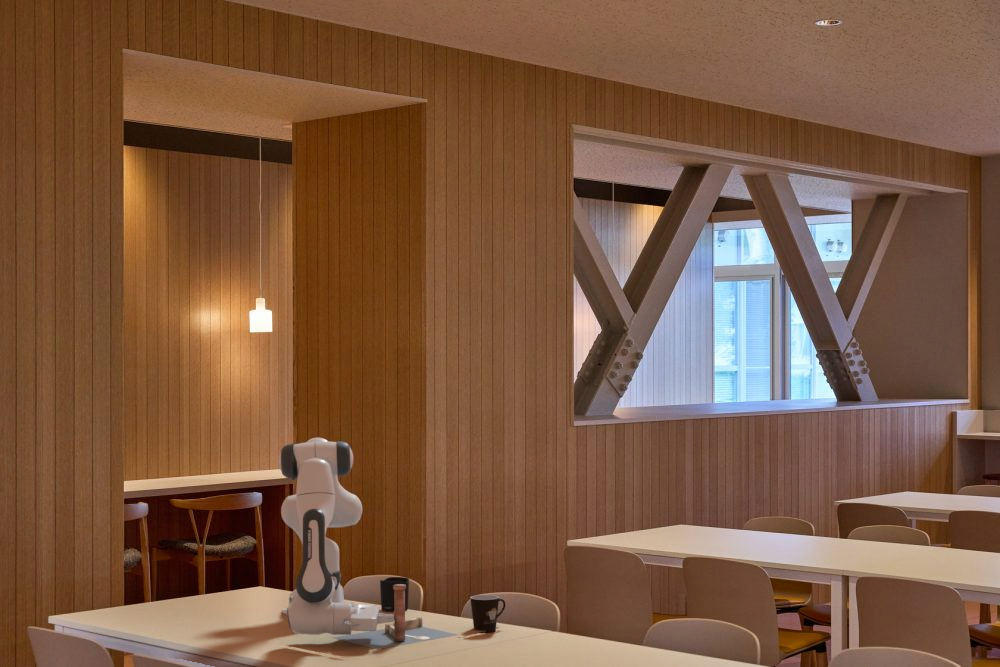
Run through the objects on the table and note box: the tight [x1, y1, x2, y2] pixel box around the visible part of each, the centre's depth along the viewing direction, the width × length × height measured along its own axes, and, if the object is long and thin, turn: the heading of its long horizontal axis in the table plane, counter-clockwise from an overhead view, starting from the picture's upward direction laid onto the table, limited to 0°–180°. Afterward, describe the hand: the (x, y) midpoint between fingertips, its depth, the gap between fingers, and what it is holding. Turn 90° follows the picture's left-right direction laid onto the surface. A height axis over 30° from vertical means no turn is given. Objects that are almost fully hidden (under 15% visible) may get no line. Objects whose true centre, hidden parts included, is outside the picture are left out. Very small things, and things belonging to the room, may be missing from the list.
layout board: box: [333, 626, 459, 650], centre depth 361 cm, size 22×29×1 cm
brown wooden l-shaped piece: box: [389, 584, 406, 642], centre depth 358 cm, size 13×4×16 cm, turn 18°
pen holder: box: [379, 576, 410, 613], centre depth 408 cm, size 9×9×10 cm
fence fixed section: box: [384, 617, 423, 634], centre depth 370 cm, size 15×3×2 cm, turn 140°
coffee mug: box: [469, 594, 506, 634], centre depth 372 cm, size 12×9×10 cm
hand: (394, 618), depth 352 cm, fingers closed
